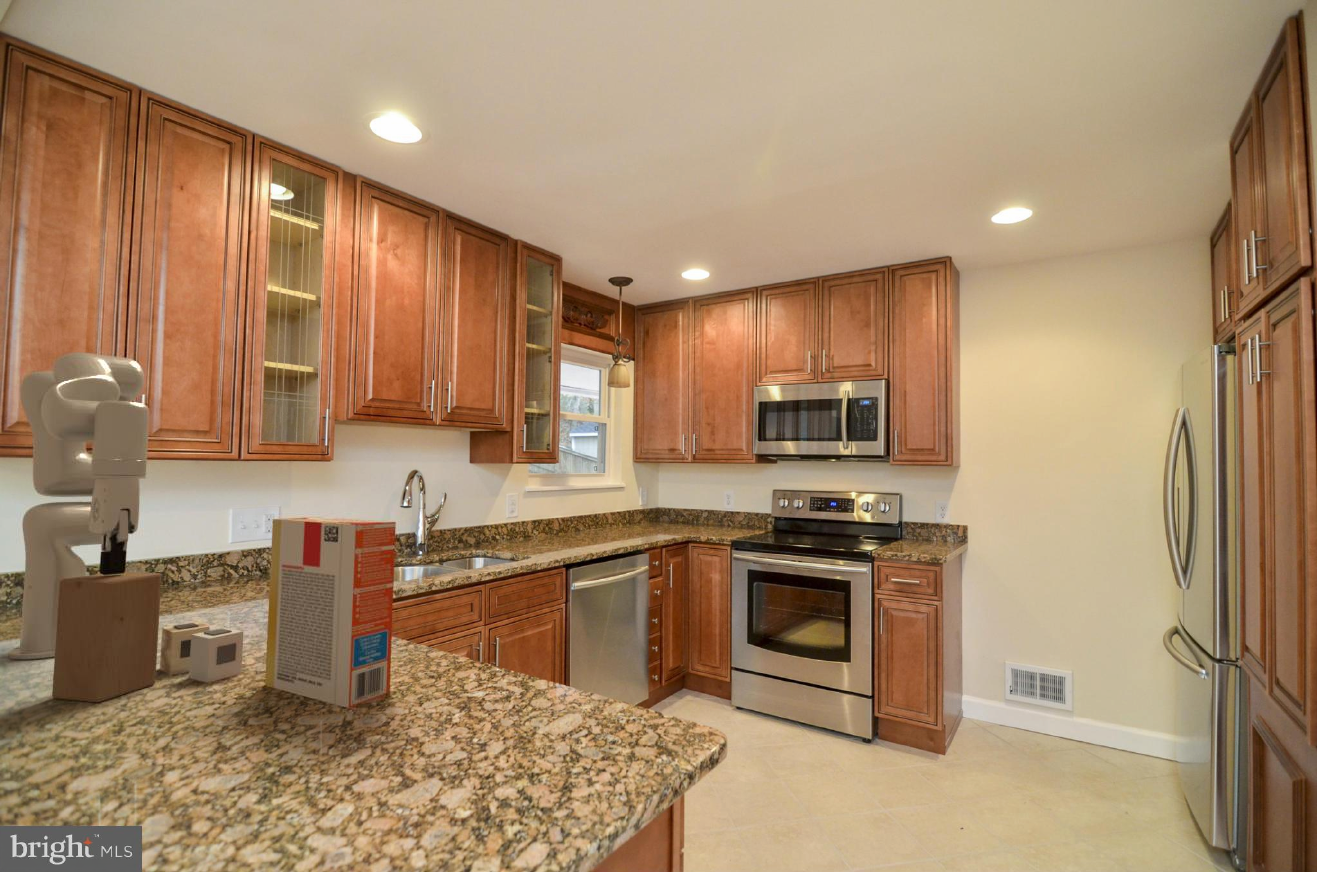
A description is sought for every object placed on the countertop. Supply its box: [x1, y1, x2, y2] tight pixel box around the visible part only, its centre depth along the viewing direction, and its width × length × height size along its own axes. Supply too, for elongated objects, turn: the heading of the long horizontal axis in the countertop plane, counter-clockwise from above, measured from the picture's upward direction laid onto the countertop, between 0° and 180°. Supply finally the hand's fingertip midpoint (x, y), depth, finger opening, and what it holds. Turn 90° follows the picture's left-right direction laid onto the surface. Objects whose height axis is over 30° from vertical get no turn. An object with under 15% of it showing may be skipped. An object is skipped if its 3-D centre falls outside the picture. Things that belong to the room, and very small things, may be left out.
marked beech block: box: [159, 621, 210, 676], centre depth 124 cm, size 6×6×8 cm
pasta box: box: [264, 516, 397, 709], centre depth 114 cm, size 23×8×30 cm, turn 63°
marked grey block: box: [188, 627, 244, 684], centre depth 120 cm, size 6×6×8 cm
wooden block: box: [51, 571, 162, 703], centre depth 111 cm, size 10×10×20 cm
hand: (112, 573), depth 112 cm, fingers closed
